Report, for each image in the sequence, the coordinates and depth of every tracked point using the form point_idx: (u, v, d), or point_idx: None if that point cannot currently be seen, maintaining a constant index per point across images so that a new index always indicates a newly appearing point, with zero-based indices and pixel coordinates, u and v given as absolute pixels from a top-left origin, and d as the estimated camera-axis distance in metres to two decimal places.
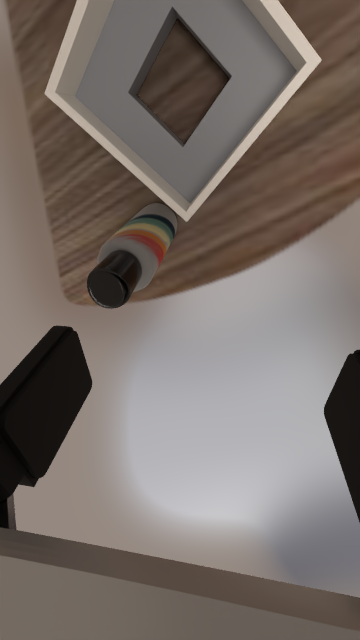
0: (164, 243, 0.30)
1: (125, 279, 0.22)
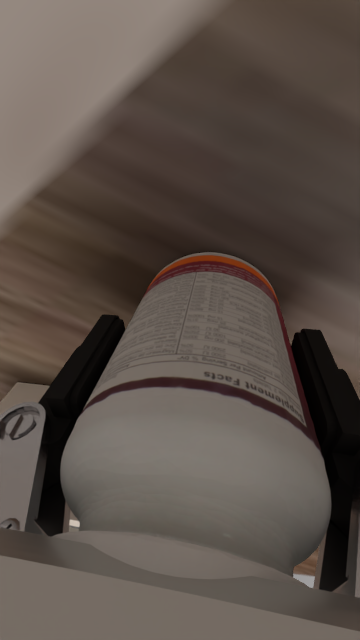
0: None
1: None
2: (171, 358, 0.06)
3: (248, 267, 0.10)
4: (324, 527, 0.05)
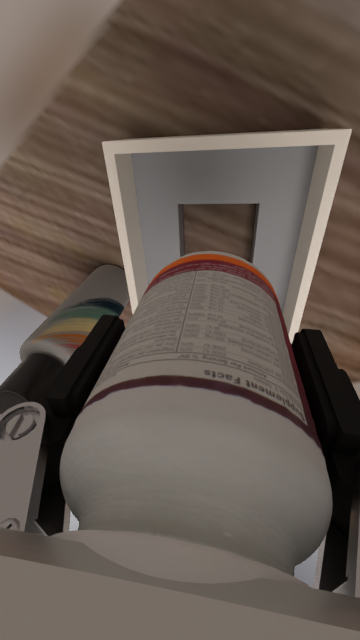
0: None
1: None
2: (171, 356, 0.06)
3: (248, 266, 0.10)
4: (325, 526, 0.05)
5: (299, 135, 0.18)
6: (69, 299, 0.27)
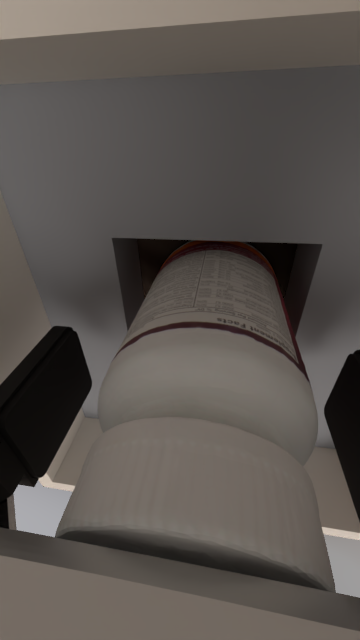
0: None
1: None
2: (189, 310, 0.07)
3: (251, 248, 0.11)
4: (312, 438, 0.06)
5: None
6: None
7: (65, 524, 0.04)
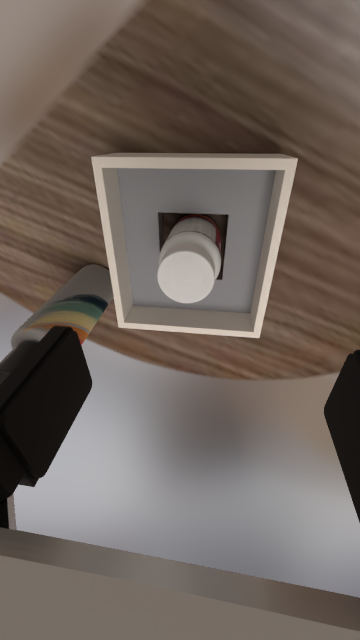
0: None
1: None
2: (185, 229, 0.26)
3: (208, 218, 0.30)
4: (217, 260, 0.25)
5: (256, 161, 0.21)
6: (57, 294, 0.29)
7: (162, 260, 0.23)
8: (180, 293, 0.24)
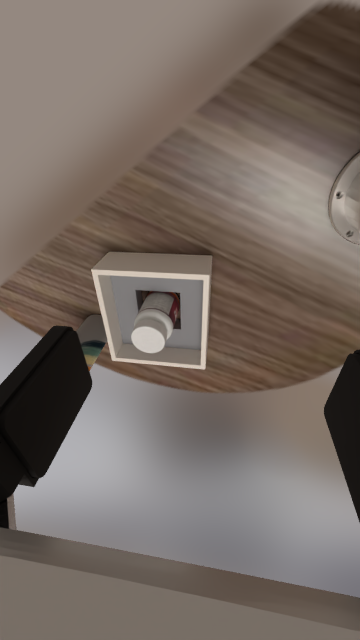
0: (91, 366, 0.47)
1: None
2: (150, 306, 0.41)
3: None
4: (169, 326, 0.40)
5: (186, 275, 0.37)
6: None
7: (133, 330, 0.38)
8: (145, 347, 0.40)
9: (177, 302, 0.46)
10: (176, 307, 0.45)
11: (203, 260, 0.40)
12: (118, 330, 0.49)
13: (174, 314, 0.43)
